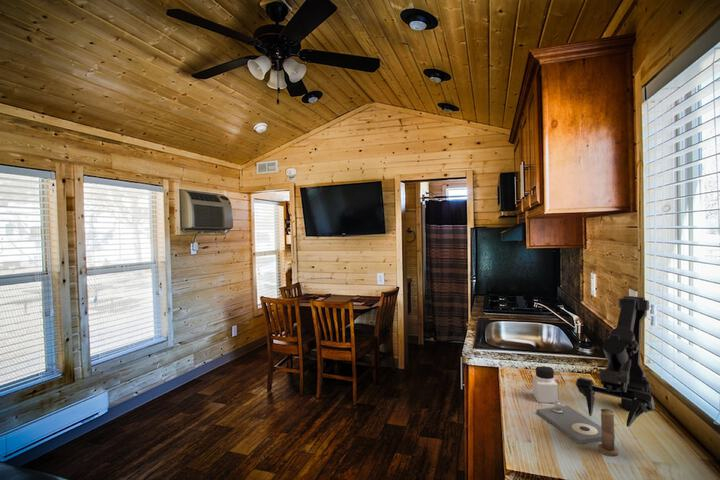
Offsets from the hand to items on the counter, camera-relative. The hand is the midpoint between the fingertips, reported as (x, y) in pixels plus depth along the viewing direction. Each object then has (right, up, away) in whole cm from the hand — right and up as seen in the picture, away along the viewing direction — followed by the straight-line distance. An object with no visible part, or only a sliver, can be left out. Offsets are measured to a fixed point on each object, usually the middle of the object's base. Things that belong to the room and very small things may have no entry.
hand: (608, 420), depth 107 cm
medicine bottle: (-1, -8, +34) cm, 35 cm away
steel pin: (-3, -7, +22) cm, 23 cm away
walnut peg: (0, -9, 0) cm, 9 cm away
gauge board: (-2, -8, +15) cm, 17 cm away
